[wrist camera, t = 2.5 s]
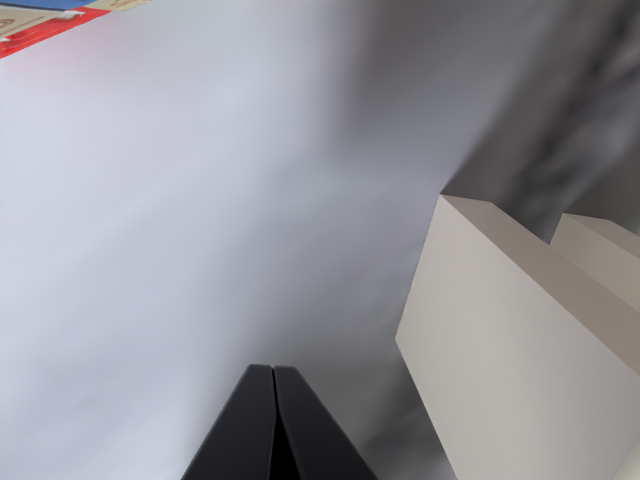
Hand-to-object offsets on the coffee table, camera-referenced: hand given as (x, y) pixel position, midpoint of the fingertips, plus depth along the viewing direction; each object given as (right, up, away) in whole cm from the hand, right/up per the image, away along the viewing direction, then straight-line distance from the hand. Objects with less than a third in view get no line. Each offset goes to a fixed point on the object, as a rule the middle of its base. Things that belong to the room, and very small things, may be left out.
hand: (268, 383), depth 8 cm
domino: (+5, +2, +6) cm, 8 cm away
